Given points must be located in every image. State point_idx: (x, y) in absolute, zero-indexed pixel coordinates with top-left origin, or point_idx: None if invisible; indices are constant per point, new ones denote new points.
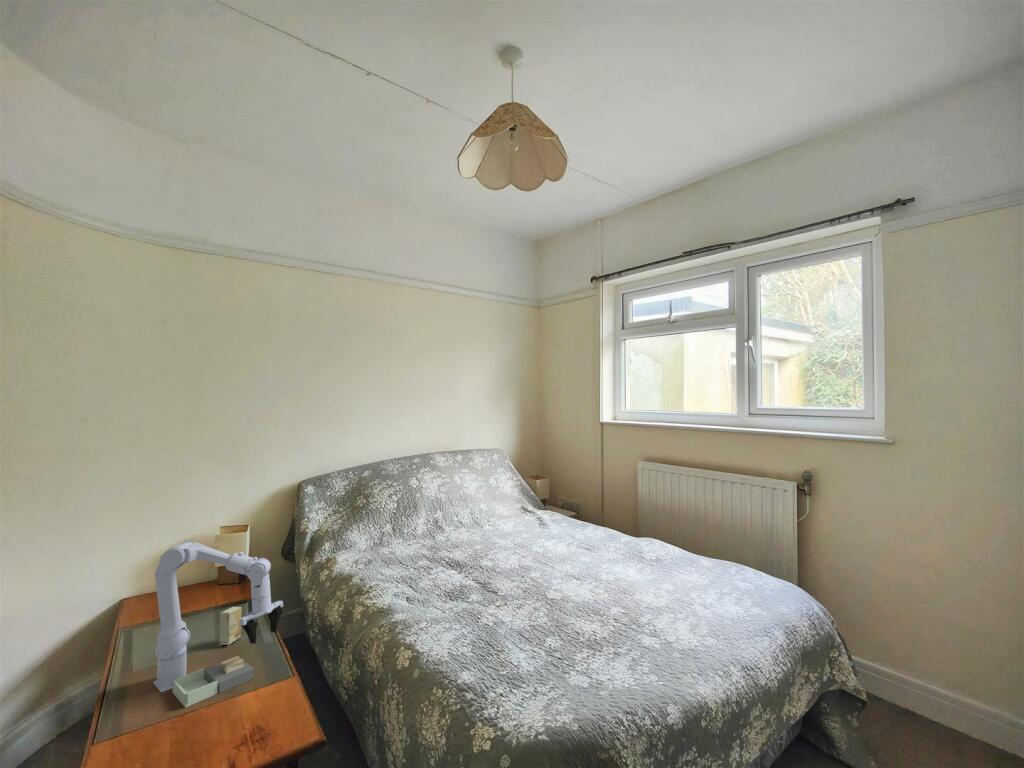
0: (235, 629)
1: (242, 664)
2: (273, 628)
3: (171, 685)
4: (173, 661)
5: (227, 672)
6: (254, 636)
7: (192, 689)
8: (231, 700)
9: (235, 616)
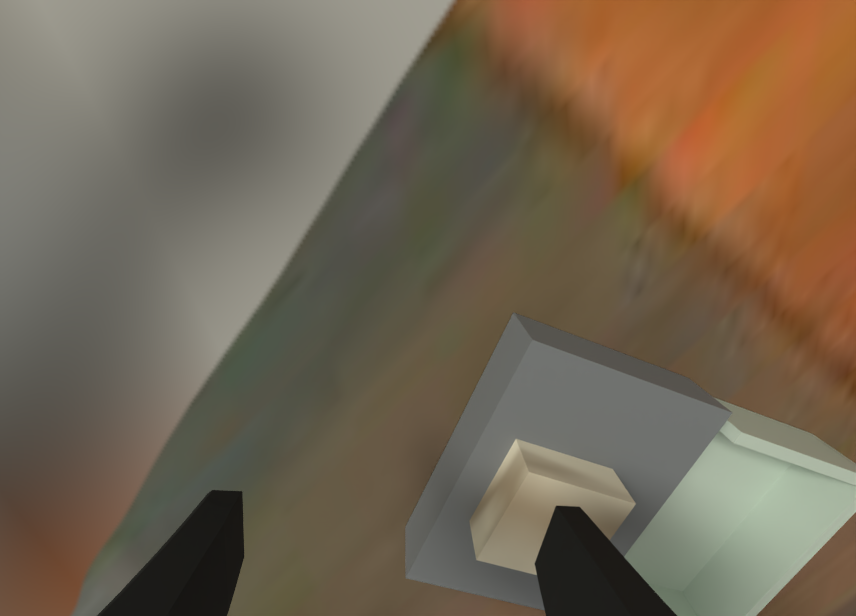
0: None
1: (529, 452)
2: (219, 575)
3: None
4: None
5: (610, 470)
6: (651, 600)
7: (677, 529)
8: (764, 238)
9: None
